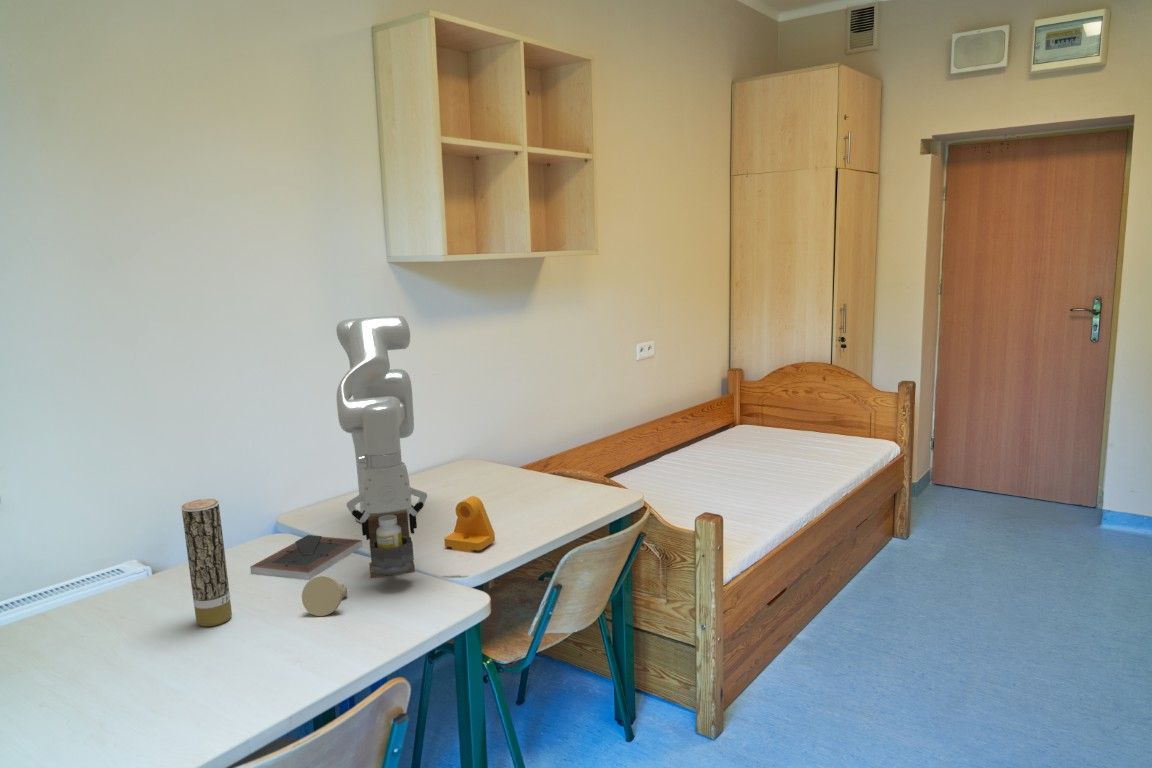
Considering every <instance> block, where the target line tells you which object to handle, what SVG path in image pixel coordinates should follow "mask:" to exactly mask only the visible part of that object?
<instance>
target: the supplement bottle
mask: <svg viewBox="0 0 1152 768" xmlns="http://www.w3.org/2000/svg"><path fill="white" fill-rule="evenodd" d="M396 523H397V517H396V516H395V515H385V516H381V517H379V518H378V524H379V526H380V527H379V528H378V529H377V530H376V536H377V546H378V548H383V549H388V548H395V547H400V546H402V534H401V528H400V526H399V525H396Z"/></svg>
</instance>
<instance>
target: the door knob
mask: <svg viewBox="0 0 1152 768" xmlns="http://www.w3.org/2000/svg"><path fill="white" fill-rule="evenodd" d="M301 593H302V594H301V601H302V605H303V607H304V609H305V610H306V611H307V612H308V613H309V614H311V615H313V616H317V617H324V616H328V615H329V614H332V613H333V612H335V611H337V609H338V608H339V606H340V604H341V603H342V600H344V598H345V597H346V596H347V594H348V588H347V587H346V585H344V584H343V583H341V584H339V582H338V581H337V580H336V579H334V578H333V577H331V576H328V575H319V576H315V577H313V578H311V579H310V580H308V581H307V583H306V584H305V586H304V587H303V589H302V592H301Z"/></svg>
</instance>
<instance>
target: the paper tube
mask: <svg viewBox="0 0 1152 768" xmlns="http://www.w3.org/2000/svg"><path fill="white" fill-rule="evenodd" d="M181 514H182V521H183V529H184V538H185V546H186V553H187V560H188V561H187V562H188V569H189V576H190V577H189V578H190V583H191V593H192V599H193V601H192V602H193V607H194V613H195V621H196V623H197V625H198V626H201V627H215V626H219V625H222V624H225V623H226V622H228V621H229V620H230V619H231V617H232V615H233V614H232V613H233V612H232V605H231V604H232V602H231V594H230V585H229V578H228V569H227V560H226V553H225V552H226V551H225V545H224V544H225V543H224V536H223V528H222V519H221V510H220V503H219V500H218V499H216V498H203V499H195V500H193V501H189V502H186V503H184V504H182V505H181Z"/></svg>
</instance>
